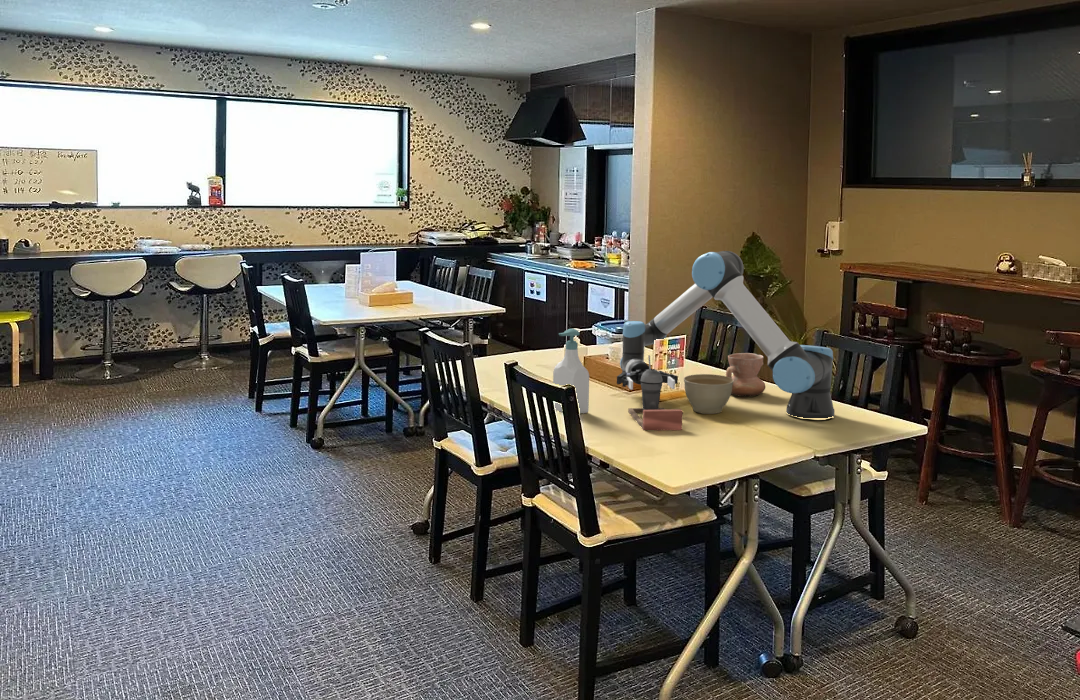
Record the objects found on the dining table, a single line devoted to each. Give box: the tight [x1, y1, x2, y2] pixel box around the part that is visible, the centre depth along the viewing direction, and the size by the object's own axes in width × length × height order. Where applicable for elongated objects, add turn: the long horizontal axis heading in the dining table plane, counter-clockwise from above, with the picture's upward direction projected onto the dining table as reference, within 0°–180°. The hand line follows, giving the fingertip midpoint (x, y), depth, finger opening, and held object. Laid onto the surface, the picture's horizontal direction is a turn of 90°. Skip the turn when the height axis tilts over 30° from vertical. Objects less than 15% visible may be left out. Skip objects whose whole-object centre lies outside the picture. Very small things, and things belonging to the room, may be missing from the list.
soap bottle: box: [552, 328, 590, 414], centre depth 297 cm, size 11×8×27 cm
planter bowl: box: [683, 373, 734, 415], centre depth 302 cm, size 16×16×11 cm
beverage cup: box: [640, 354, 664, 410], centre depth 293 cm, size 7×7×20 cm
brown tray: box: [627, 407, 684, 431], centre depth 289 cm, size 23×12×6 cm, turn 6°
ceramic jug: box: [725, 352, 767, 397], centre depth 326 cm, size 18×14×14 cm
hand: (652, 385), depth 290 cm, fingers open, 13 cm apart
